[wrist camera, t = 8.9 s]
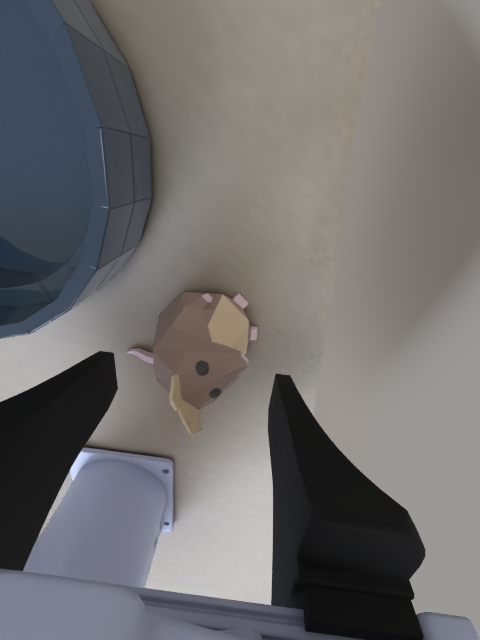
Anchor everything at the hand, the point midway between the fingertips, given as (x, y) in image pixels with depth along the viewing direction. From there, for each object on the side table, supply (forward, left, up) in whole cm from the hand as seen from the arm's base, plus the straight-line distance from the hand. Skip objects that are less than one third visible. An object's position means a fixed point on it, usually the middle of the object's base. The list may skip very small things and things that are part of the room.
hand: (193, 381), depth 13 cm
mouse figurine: (0, +1, -4) cm, 4 cm away
